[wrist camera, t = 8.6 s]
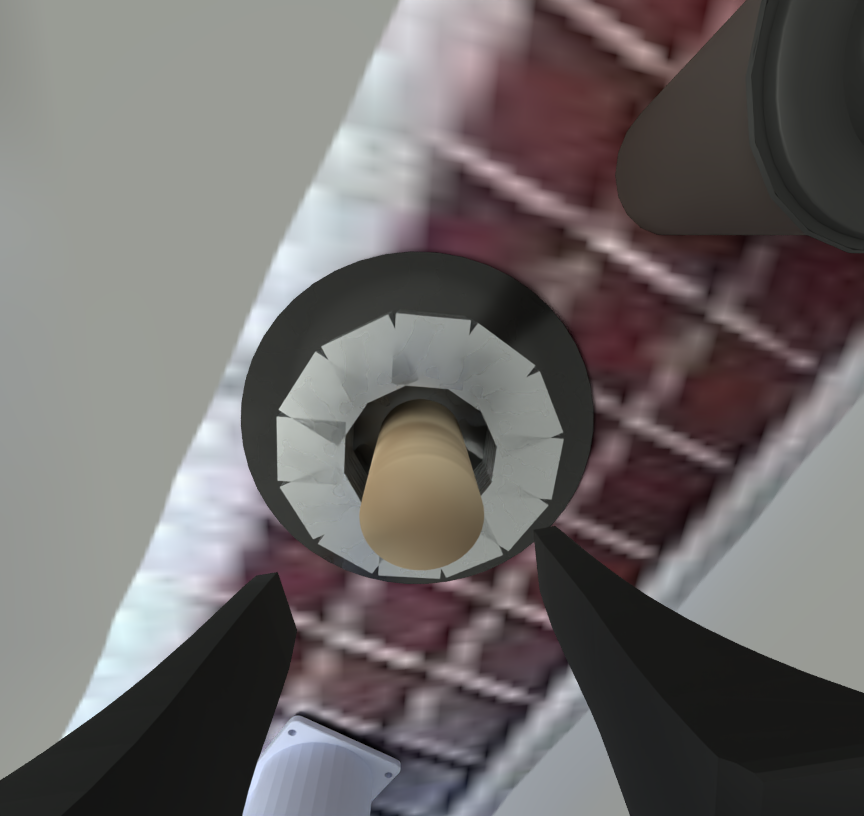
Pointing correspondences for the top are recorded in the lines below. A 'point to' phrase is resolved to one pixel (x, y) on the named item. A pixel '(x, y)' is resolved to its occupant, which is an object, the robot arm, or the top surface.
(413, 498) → the peg
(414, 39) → the top surface
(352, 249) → the top surface
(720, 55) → the coffee cup
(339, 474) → the rosette
